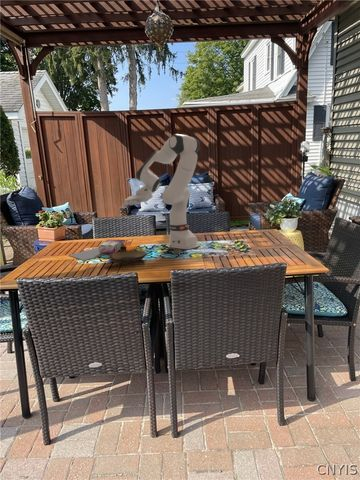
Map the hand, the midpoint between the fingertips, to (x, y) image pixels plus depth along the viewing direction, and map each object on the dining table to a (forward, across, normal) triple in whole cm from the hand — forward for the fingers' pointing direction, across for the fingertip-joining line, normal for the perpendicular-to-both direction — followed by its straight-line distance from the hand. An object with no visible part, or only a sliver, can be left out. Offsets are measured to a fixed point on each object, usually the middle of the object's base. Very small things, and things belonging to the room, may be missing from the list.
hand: (131, 204), depth 249 cm
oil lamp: (+42, +21, +18) cm, 51 cm away
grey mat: (+39, -12, +14) cm, 43 cm away
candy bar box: (+22, -6, +17) cm, 28 cm away
